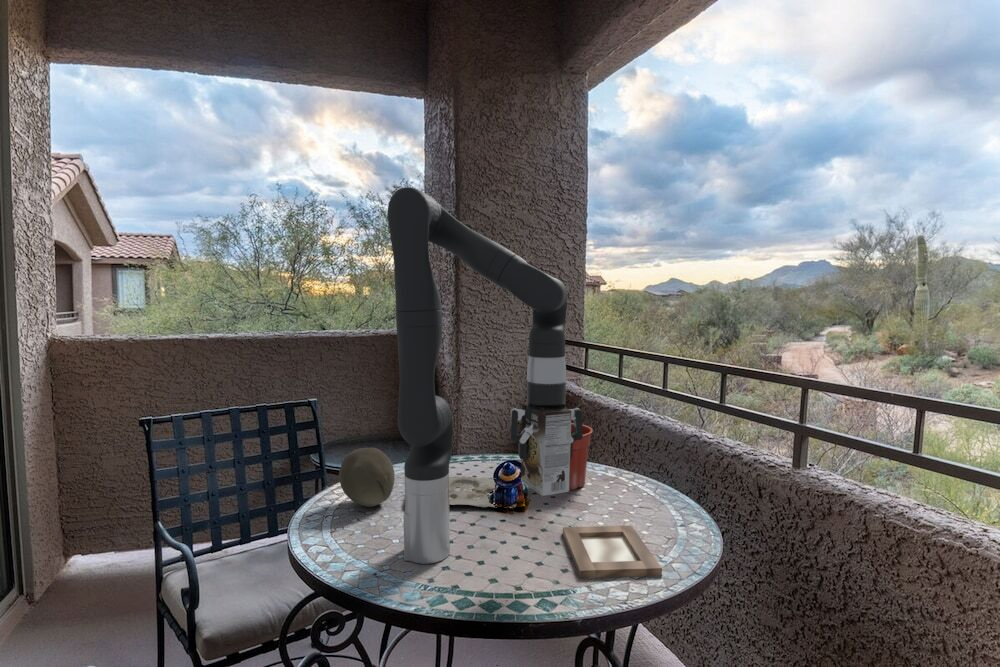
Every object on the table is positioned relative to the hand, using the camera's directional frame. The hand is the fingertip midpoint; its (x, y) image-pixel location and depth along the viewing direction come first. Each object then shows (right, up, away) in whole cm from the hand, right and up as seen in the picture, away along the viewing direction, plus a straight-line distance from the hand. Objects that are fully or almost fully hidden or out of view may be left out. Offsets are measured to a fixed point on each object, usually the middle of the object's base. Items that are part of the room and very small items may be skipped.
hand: (545, 460), depth 102 cm
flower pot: (+10, -19, +49) cm, 53 cm away
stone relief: (-18, -20, +39) cm, 48 cm away
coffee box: (0, -5, 0) cm, 5 cm away
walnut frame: (+14, -21, +7) cm, 26 cm away
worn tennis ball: (-44, -20, +33) cm, 58 cm away
